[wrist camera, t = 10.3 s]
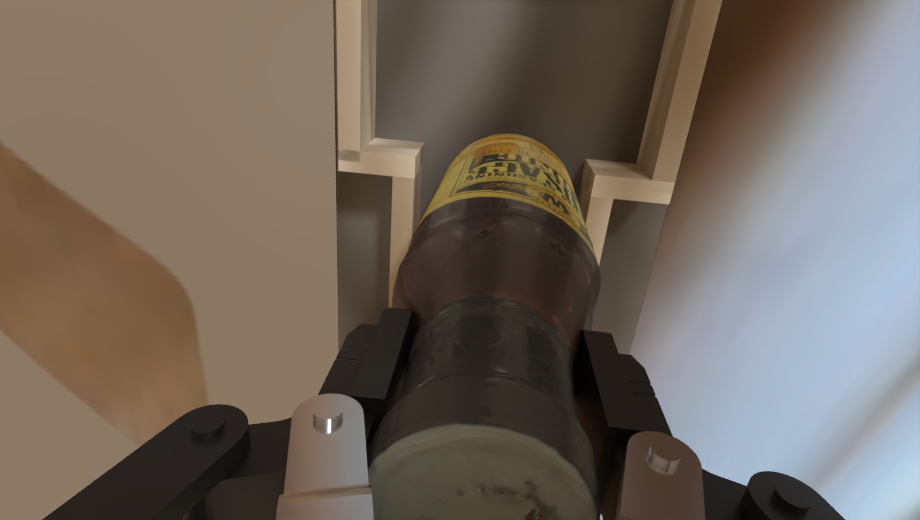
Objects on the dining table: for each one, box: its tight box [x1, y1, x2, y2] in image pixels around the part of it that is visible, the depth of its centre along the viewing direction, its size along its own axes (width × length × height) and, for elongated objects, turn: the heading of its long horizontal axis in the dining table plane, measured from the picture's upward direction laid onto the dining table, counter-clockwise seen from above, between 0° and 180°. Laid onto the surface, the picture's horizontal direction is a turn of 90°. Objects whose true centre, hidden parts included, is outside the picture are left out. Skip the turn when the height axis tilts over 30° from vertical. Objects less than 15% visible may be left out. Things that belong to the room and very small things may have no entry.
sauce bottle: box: [367, 133, 601, 520], centre depth 18 cm, size 6×6×20 cm
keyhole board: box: [333, 0, 723, 355], centre depth 26 cm, size 17×25×4 cm
